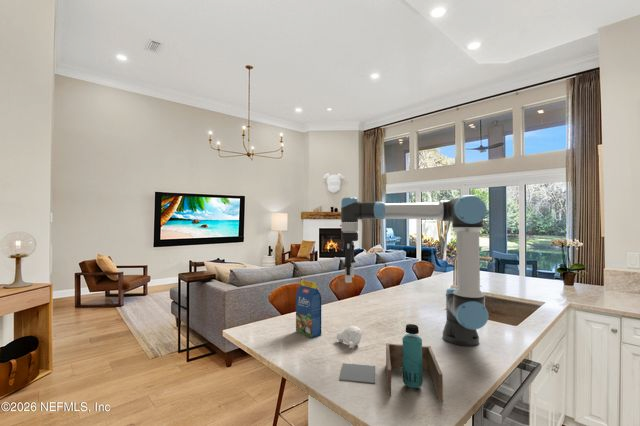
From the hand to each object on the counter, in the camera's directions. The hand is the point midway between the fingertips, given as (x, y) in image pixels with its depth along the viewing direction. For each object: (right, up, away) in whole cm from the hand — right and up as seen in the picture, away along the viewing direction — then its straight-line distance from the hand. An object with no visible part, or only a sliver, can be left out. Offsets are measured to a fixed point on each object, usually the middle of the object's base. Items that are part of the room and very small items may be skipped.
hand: (349, 279), depth 137 cm
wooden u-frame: (+17, -27, -33) cm, 46 cm away
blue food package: (-19, -29, +11) cm, 36 cm away
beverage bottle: (+17, -27, -37) cm, 49 cm away
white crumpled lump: (-1, -28, -2) cm, 28 cm away
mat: (0, -27, -28) cm, 39 cm away
